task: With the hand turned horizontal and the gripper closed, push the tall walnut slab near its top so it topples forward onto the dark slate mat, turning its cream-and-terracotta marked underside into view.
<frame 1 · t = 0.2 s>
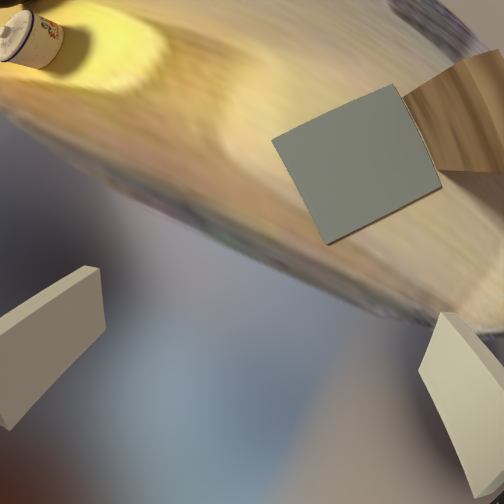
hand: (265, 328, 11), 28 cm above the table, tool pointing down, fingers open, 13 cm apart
slate mat: (361, 161, 34), on the table
walnut slab: (435, 126, 32), on the table
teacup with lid: (44, 43, 35), on the table
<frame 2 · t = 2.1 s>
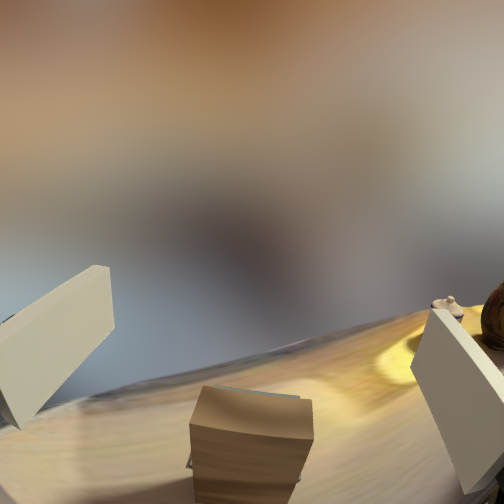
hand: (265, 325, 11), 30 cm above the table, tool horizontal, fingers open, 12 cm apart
ceramic jug: (494, 342, 63), on the table
walnut slab: (241, 494, 29), on the table
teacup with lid: (440, 339, 66), on the table
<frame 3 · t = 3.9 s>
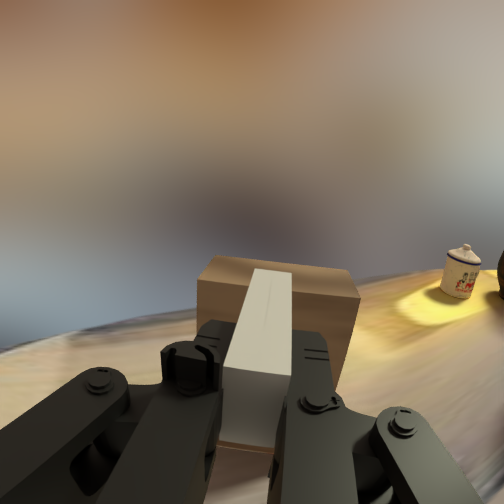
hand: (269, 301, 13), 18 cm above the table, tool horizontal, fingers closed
walnut slab: (258, 432, 26), on the table
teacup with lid: (458, 292, 63), on the table
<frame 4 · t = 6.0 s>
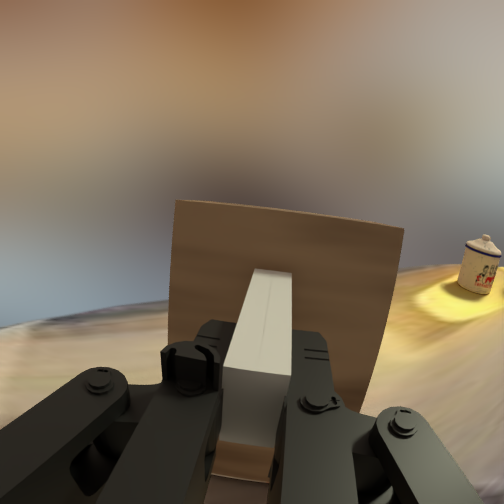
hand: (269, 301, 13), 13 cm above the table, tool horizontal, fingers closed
walnut slab: (253, 455, 18), on the table, tilted 8°
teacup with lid: (476, 287, 55), on the table
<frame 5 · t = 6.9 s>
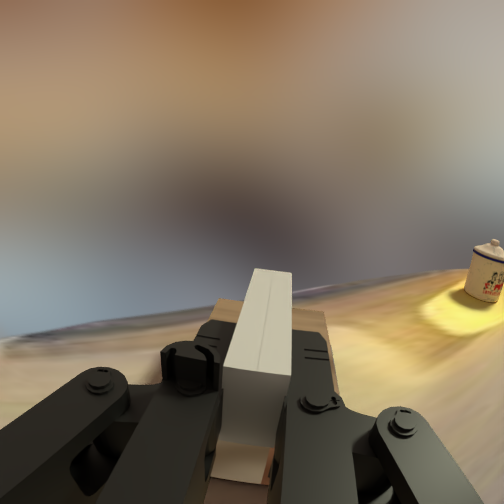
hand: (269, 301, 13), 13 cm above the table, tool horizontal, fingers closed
walnut slab: (248, 462, 15), point 3 cm above the table, tilted 90°, touching slate mat
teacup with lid: (484, 295, 51), on the table
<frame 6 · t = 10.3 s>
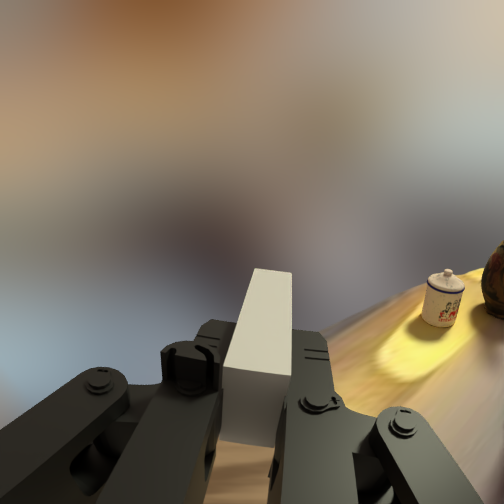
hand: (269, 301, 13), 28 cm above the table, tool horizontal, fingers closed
ceramic jug: (499, 309, 59), on the table
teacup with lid: (441, 317, 61), on the table
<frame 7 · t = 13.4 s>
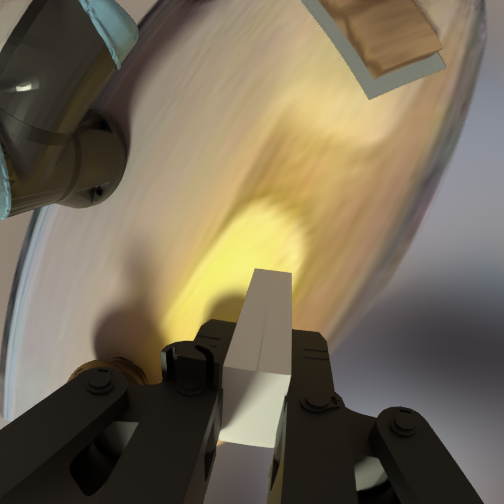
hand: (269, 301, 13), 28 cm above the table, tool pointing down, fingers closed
ceramic jug: (125, 379, 52), on the table
slate mat: (377, 30, 31), on the table
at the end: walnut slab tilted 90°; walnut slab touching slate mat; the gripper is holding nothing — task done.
